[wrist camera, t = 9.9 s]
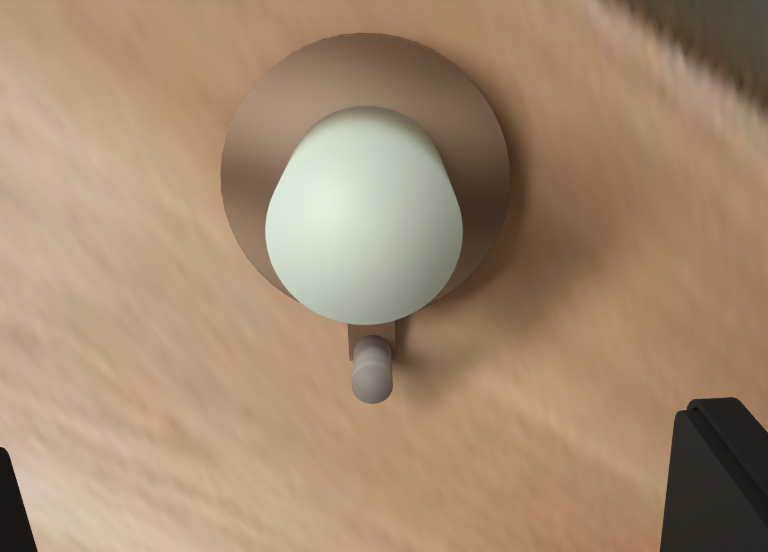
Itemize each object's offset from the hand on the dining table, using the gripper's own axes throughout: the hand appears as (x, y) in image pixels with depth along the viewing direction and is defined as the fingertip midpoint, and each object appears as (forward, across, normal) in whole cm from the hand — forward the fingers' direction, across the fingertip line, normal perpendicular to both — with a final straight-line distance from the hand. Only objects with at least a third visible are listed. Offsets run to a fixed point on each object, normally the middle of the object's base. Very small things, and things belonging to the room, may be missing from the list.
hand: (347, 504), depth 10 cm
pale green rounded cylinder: (+19, 0, 0) cm, 19 cm away
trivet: (+20, 0, +2) cm, 20 cm away
